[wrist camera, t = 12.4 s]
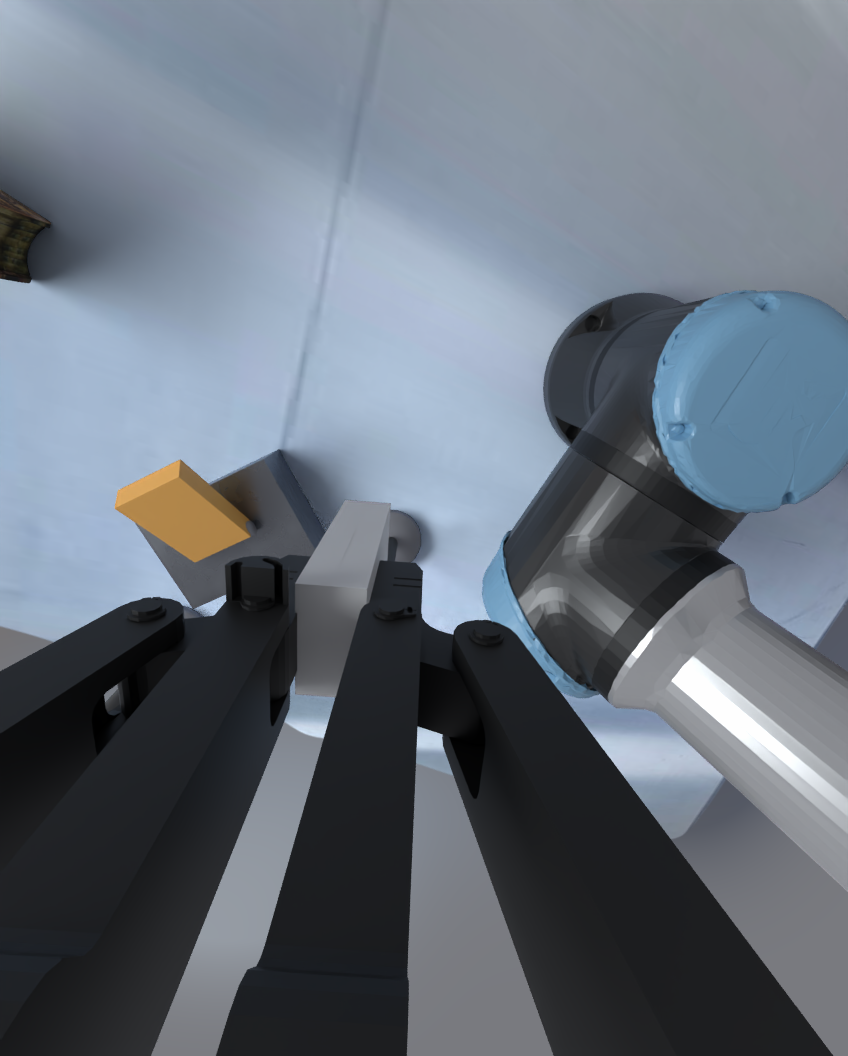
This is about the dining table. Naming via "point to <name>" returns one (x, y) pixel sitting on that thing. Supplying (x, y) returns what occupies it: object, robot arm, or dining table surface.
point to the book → (17, 237)
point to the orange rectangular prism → (184, 512)
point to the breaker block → (275, 513)
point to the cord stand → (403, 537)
